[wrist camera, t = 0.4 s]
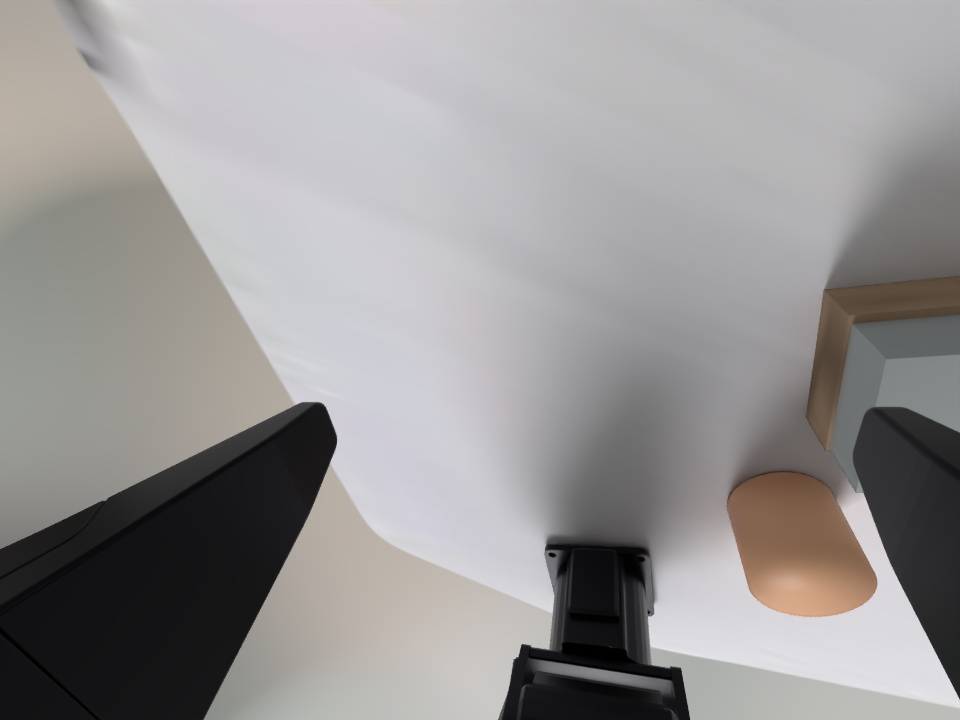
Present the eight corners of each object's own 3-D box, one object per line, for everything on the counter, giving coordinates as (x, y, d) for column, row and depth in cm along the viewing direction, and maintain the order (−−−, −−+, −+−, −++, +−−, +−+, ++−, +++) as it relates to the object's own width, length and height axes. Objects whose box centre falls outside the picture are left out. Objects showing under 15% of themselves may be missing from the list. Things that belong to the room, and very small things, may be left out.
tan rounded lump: (828, 539, 25) (866, 621, 22) (725, 536, 27) (745, 612, 23) (841, 471, 23) (887, 550, 19) (728, 472, 24) (750, 545, 21)
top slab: (1011, 445, 18) (1063, 494, 16) (829, 448, 20) (855, 492, 18) (1071, 305, 15) (1143, 342, 13) (852, 323, 17) (886, 359, 15)
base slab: (979, 408, 20) (1022, 447, 18) (804, 415, 22) (825, 451, 20) (1030, 266, 17) (1089, 293, 15) (822, 288, 19) (848, 315, 17)
